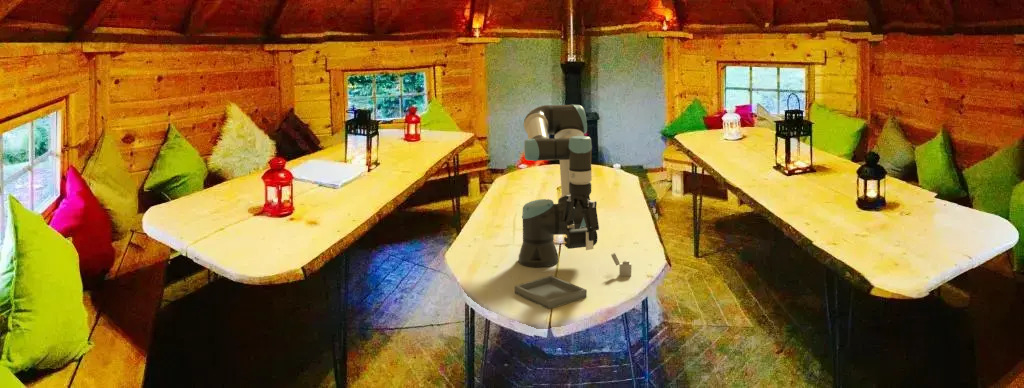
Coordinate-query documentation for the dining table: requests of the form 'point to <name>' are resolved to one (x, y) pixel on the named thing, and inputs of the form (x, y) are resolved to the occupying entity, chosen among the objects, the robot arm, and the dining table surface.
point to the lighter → (622, 266)
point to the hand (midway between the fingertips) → (580, 245)
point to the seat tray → (550, 292)
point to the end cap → (577, 237)
